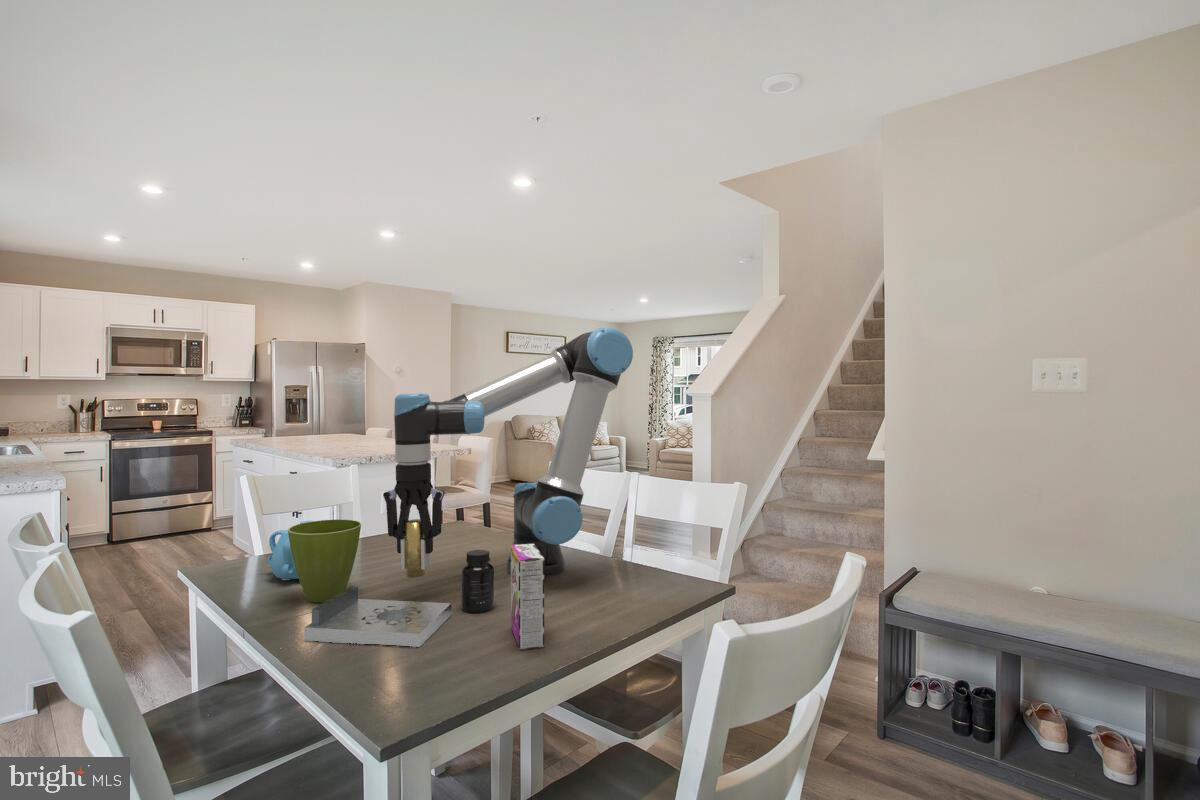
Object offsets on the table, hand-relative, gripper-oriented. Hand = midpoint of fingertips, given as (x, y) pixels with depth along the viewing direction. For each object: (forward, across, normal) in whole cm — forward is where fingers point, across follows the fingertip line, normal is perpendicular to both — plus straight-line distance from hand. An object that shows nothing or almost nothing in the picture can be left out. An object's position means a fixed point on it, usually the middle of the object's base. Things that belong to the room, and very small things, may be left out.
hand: (415, 567), depth 131 cm
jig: (+7, 0, +16) cm, 18 cm away
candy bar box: (+8, -29, +17) cm, 35 cm away
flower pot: (+7, +21, +1) cm, 22 cm away
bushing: (+2, 0, 0) cm, 2 cm away
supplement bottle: (+8, -15, +3) cm, 17 cm away
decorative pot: (+7, +35, -14) cm, 38 cm away
